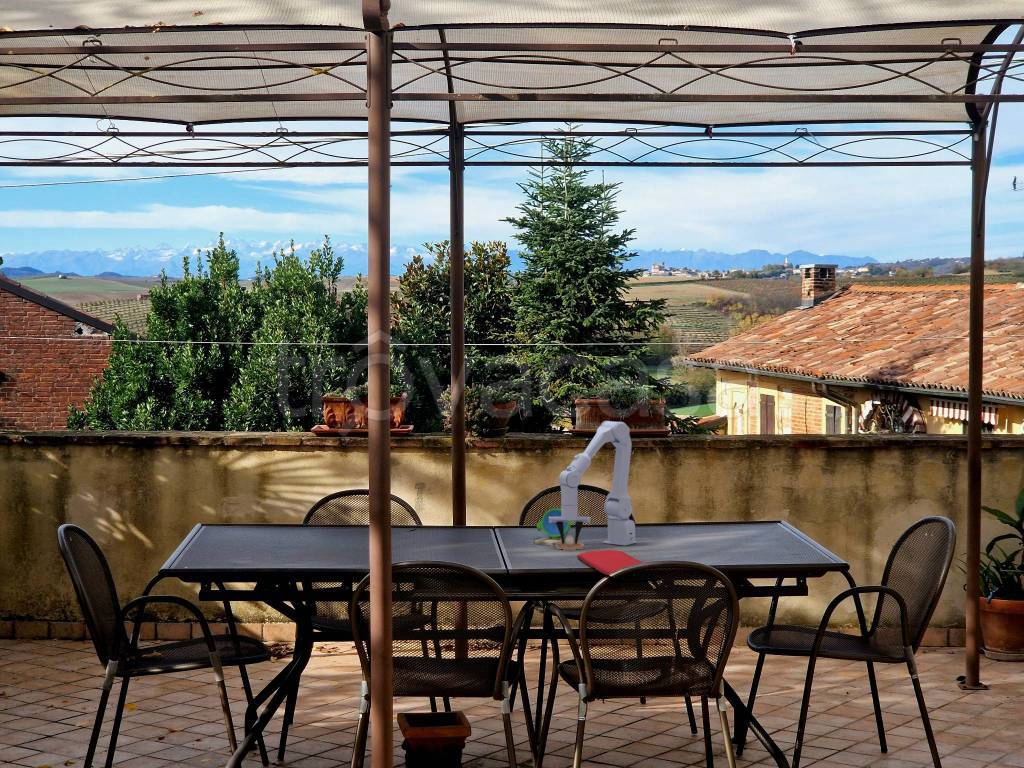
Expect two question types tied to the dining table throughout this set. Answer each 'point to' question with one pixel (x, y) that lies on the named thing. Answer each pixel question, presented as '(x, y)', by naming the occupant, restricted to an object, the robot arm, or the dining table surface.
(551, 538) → the tray
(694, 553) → the dining table surface
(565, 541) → the ball
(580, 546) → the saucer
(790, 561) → the dining table surface
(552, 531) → the snack cup
